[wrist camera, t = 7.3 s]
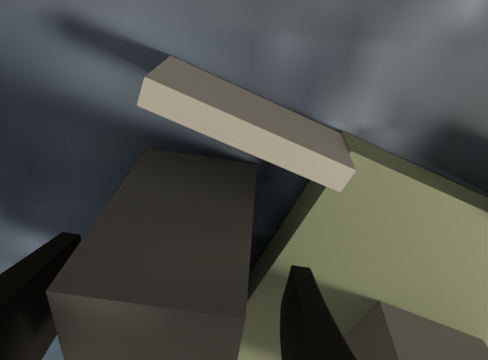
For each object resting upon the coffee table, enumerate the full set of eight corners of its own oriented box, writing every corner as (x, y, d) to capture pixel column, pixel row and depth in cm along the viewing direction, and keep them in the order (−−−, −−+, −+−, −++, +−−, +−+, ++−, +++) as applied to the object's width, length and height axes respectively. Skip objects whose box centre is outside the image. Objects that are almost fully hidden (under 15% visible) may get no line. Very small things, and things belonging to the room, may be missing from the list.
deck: (620, 199, 12) (902, 384, 7) (361, 400, 20) (394, 559, 15) (191, -13, 10) (87, 7, 4) (90, 313, 17) (9, 465, 12)
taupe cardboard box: (257, 163, 12) (245, 319, 7) (238, 278, 16) (219, 449, 10) (147, 147, 12) (45, 291, 7) (150, 266, 15) (82, 430, 10)
